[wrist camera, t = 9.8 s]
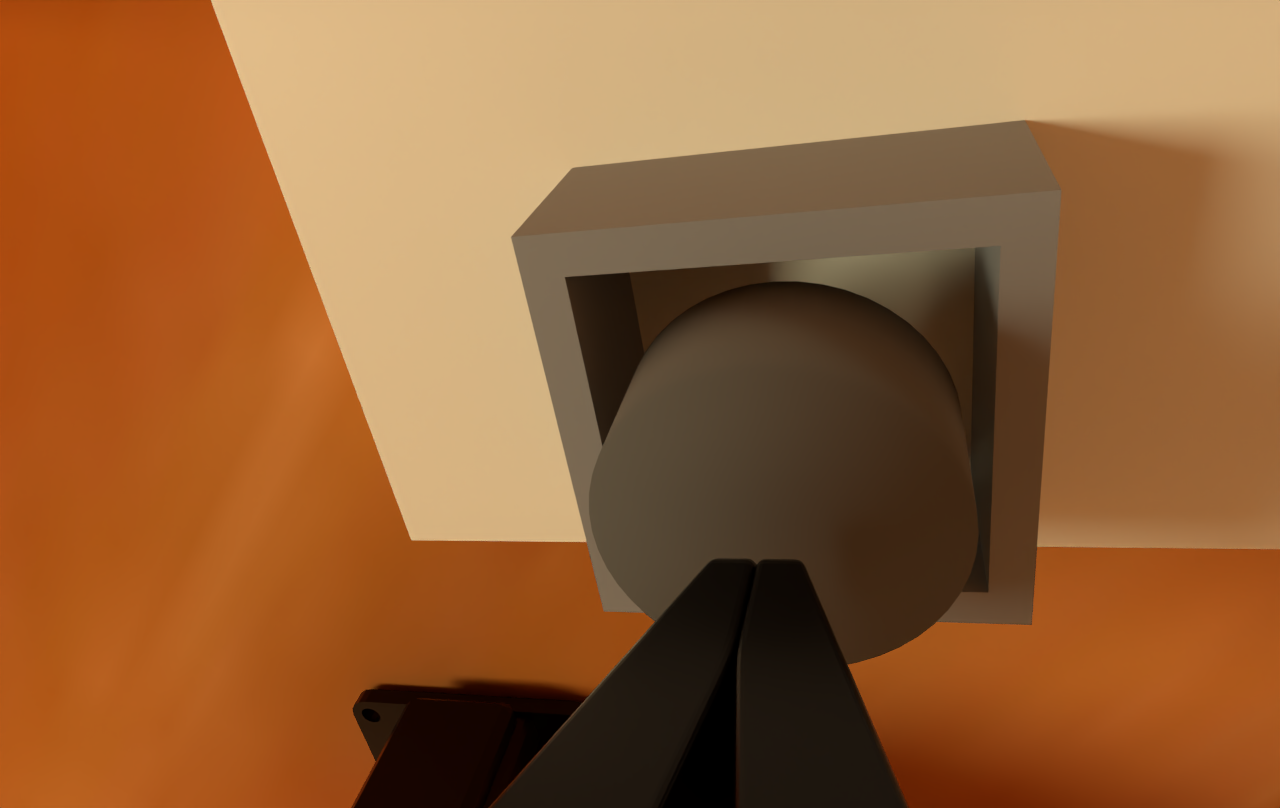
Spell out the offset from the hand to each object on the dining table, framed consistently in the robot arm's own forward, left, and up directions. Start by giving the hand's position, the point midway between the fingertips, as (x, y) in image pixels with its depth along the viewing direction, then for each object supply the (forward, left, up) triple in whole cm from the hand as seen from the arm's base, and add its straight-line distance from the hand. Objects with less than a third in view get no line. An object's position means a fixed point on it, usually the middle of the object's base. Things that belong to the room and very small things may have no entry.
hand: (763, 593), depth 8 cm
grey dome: (0, 0, -3) cm, 3 cm away
